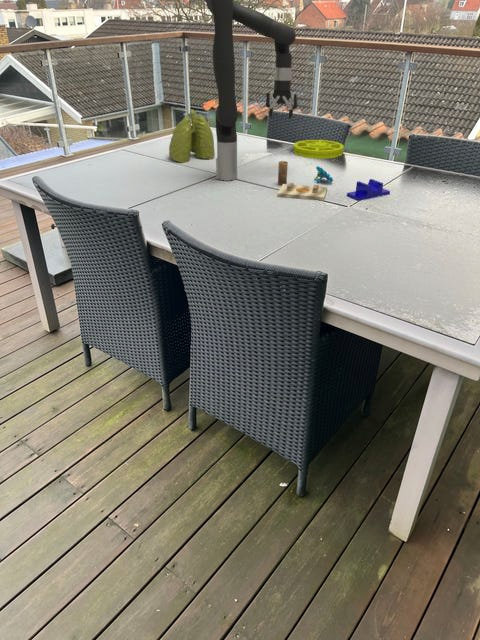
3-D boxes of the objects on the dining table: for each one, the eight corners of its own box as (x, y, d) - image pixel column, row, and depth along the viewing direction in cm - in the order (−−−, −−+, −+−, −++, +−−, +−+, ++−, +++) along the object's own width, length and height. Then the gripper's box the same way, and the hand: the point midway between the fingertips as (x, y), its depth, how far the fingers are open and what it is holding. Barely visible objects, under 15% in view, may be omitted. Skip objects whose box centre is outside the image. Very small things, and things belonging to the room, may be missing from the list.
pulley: (350, 151, 281) (351, 142, 278) (330, 161, 261) (331, 152, 258) (306, 145, 293) (307, 136, 290) (284, 154, 273) (285, 145, 271)
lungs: (207, 152, 276) (206, 106, 263) (218, 159, 264) (217, 111, 251) (165, 157, 267) (161, 110, 254) (174, 164, 255) (171, 115, 242)
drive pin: (276, 185, 224) (277, 163, 219) (278, 182, 227) (279, 161, 222) (285, 186, 223) (286, 163, 218) (287, 183, 227) (288, 161, 221)
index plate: (277, 196, 210) (277, 188, 209) (282, 187, 222) (283, 179, 220) (323, 200, 206) (324, 192, 204) (327, 190, 218) (327, 182, 216)
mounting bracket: (377, 190, 219) (379, 177, 216) (389, 195, 214) (391, 181, 211) (346, 197, 212) (348, 183, 208) (357, 201, 206) (359, 187, 203)
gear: (337, 181, 224) (323, 166, 220) (328, 191, 225) (314, 176, 221) (327, 177, 234) (314, 163, 230) (319, 187, 235) (305, 173, 230)
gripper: (265, 79, 216) (264, 118, 225) (297, 80, 213) (294, 119, 221) (269, 77, 222) (267, 115, 231) (300, 78, 219) (297, 117, 228)
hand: (280, 117), depth 226 cm, fingers open, 8 cm apart
